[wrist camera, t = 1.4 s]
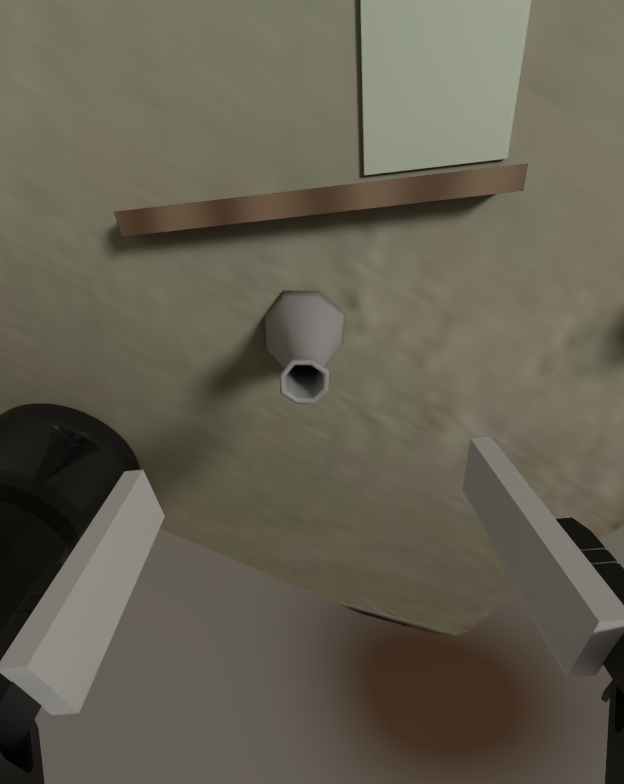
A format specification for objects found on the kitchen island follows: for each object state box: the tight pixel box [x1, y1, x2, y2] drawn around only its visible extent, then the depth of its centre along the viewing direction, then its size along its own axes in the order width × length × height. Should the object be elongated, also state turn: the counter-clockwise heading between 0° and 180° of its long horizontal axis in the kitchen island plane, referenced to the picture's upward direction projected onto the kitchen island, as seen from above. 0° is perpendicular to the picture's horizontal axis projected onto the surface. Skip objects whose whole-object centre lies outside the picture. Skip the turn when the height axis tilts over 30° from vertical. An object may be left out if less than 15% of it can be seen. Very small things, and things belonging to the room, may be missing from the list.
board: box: [360, 0, 531, 175], centre depth 22 cm, size 10×9×1 cm
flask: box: [264, 291, 345, 404], centre depth 26 cm, size 7×7×10 cm
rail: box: [114, 164, 528, 237], centre depth 24 cm, size 27×2×3 cm, turn 96°
